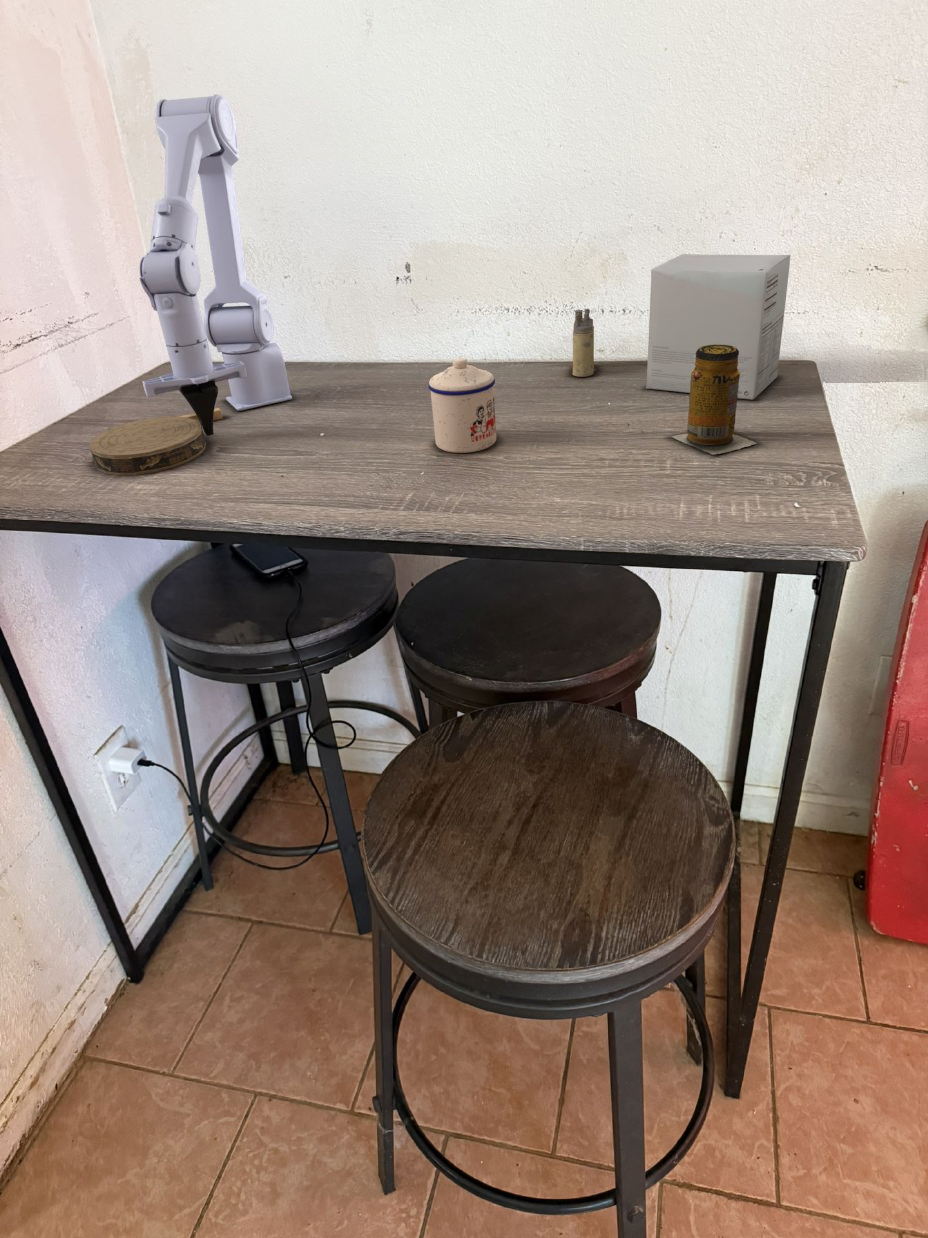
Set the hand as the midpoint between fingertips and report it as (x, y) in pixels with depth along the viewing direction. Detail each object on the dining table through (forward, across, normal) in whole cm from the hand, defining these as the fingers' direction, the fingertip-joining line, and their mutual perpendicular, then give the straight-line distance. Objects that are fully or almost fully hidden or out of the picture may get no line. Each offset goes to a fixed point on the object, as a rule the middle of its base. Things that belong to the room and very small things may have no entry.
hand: (209, 433), depth 127 cm
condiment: (+1, +56, -47) cm, 73 cm away
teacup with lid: (+1, +31, -25) cm, 40 cm away
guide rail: (+1, -5, +10) cm, 11 cm away
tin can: (+1, -9, 0) cm, 9 cm away
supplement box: (+1, +73, -28) cm, 78 cm away
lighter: (+1, +62, -9) cm, 63 cm away
